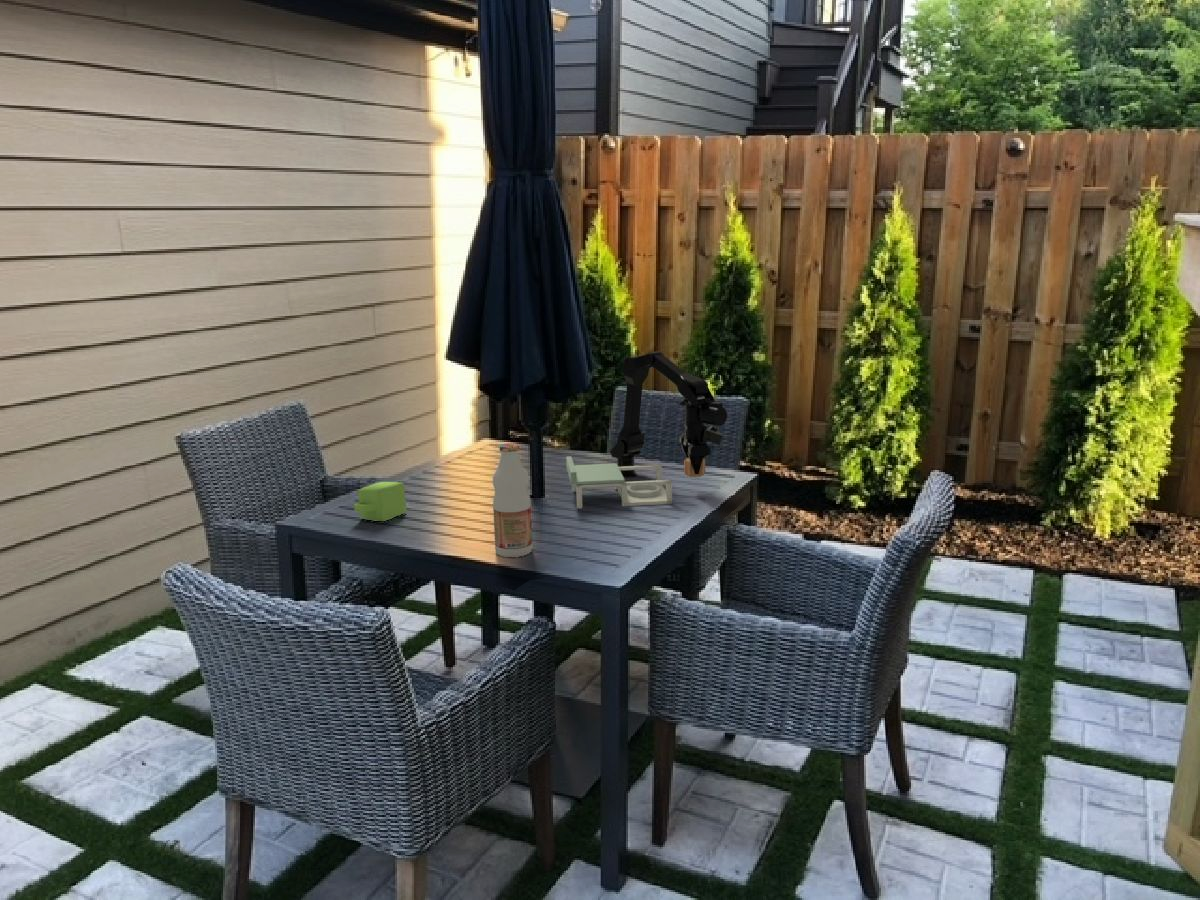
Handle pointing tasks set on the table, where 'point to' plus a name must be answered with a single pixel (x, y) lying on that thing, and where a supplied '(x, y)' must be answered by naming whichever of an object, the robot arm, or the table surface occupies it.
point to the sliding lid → (593, 473)
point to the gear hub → (689, 469)
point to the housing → (636, 489)
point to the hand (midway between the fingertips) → (694, 471)
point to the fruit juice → (511, 505)
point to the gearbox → (381, 501)
